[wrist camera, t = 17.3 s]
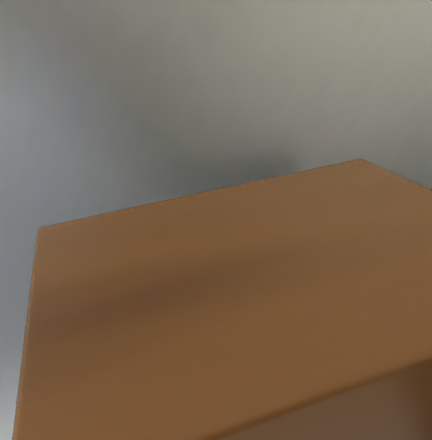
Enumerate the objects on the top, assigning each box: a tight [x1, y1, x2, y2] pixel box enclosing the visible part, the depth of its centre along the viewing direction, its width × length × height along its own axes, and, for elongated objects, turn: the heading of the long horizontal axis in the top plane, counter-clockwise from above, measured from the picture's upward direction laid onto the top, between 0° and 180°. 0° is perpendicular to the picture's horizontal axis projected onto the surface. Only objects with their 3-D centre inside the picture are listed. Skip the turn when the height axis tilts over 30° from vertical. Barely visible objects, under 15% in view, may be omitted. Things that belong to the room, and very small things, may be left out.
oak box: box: [12, 159, 432, 440], centre depth 7 cm, size 6×6×4 cm
